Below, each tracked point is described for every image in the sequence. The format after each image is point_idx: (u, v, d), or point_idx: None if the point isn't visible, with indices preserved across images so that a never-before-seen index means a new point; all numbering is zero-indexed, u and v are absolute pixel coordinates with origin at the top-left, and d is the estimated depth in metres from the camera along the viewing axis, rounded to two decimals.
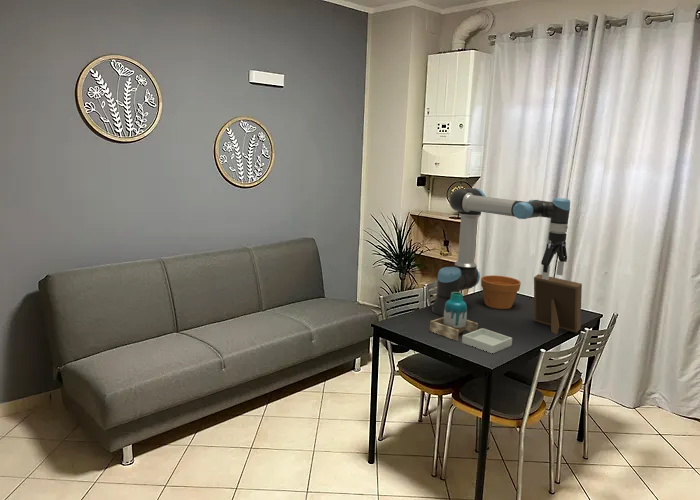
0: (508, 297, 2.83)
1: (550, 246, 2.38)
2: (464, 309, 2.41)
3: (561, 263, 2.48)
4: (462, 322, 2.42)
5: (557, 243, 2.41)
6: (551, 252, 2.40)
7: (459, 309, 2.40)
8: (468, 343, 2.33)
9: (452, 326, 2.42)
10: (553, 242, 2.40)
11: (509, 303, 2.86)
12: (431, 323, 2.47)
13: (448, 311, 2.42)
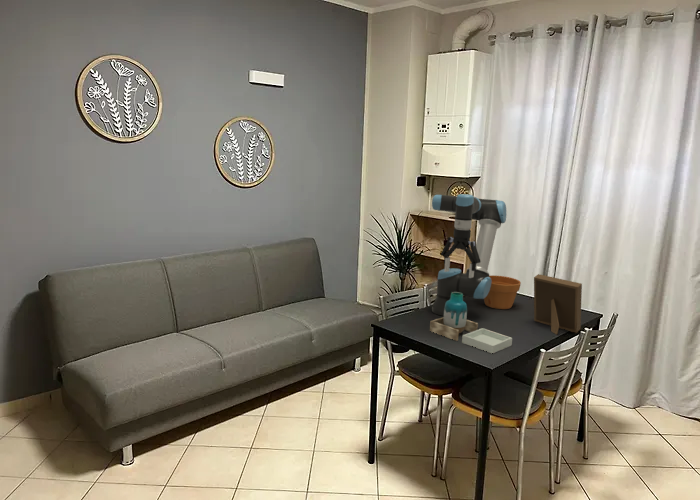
0: (508, 297, 2.83)
1: None
2: (464, 309, 2.41)
3: None
4: (462, 322, 2.42)
5: (457, 239, 2.39)
6: None
7: (459, 309, 2.40)
8: (468, 343, 2.33)
9: (452, 326, 2.42)
10: None
11: (509, 303, 2.86)
12: (431, 323, 2.47)
13: (448, 311, 2.42)
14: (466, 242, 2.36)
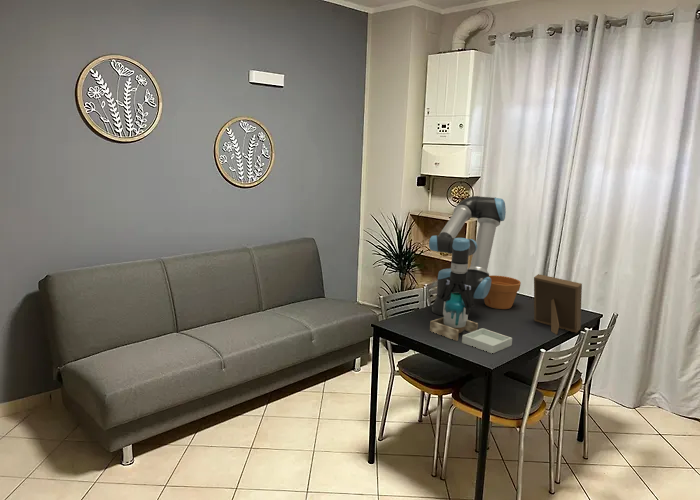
0: (508, 297, 2.83)
1: None
2: None
3: None
4: (462, 322, 2.42)
5: (453, 281, 2.43)
6: None
7: (459, 309, 2.40)
8: (468, 343, 2.33)
9: (452, 326, 2.42)
10: None
11: (509, 303, 2.86)
12: (431, 323, 2.47)
13: (448, 311, 2.42)
14: (462, 285, 2.40)
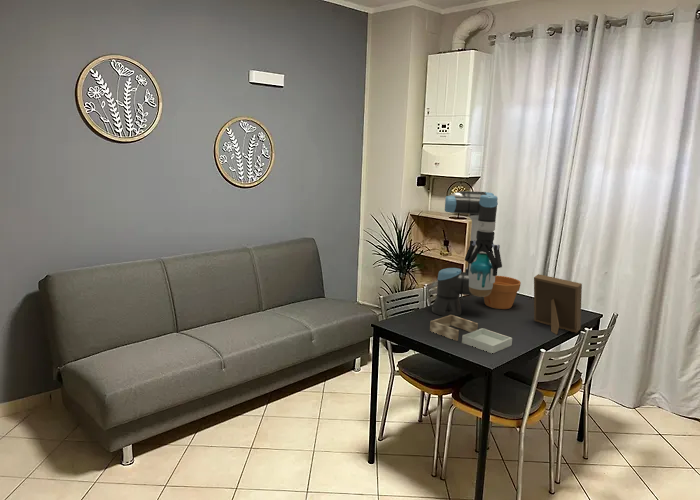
0: (508, 297, 2.83)
1: None
2: None
3: None
4: (489, 284, 2.29)
5: (480, 241, 2.30)
6: None
7: (486, 270, 2.27)
8: (468, 343, 2.33)
9: (478, 288, 2.29)
10: None
11: (509, 303, 2.86)
12: (431, 323, 2.47)
13: (474, 272, 2.29)
14: (489, 245, 2.27)
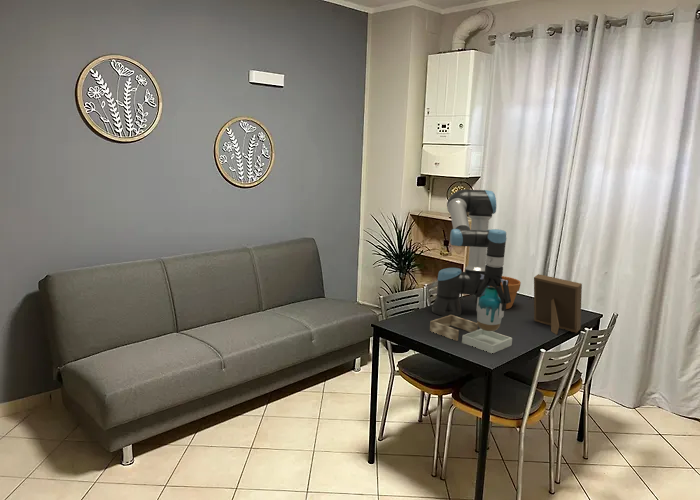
0: None
1: None
2: None
3: None
4: (498, 319, 2.28)
5: (488, 275, 2.29)
6: None
7: (495, 305, 2.26)
8: (468, 343, 2.33)
9: (487, 323, 2.28)
10: None
11: (509, 303, 2.86)
12: (431, 323, 2.47)
13: (482, 307, 2.28)
14: (498, 280, 2.26)
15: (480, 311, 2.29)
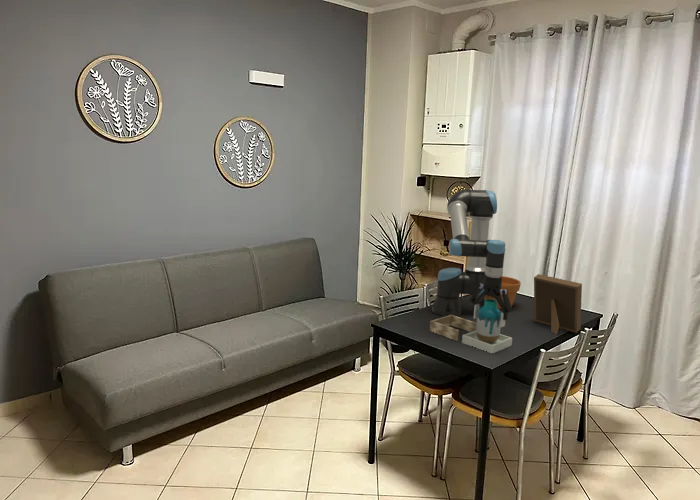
0: None
1: None
2: (499, 317, 2.29)
3: None
4: (496, 330, 2.29)
5: (488, 286, 2.30)
6: None
7: (493, 317, 2.28)
8: (468, 343, 2.33)
9: (486, 335, 2.29)
10: None
11: None
12: (431, 323, 2.47)
13: (481, 318, 2.30)
14: (497, 290, 2.27)
15: (479, 323, 2.31)
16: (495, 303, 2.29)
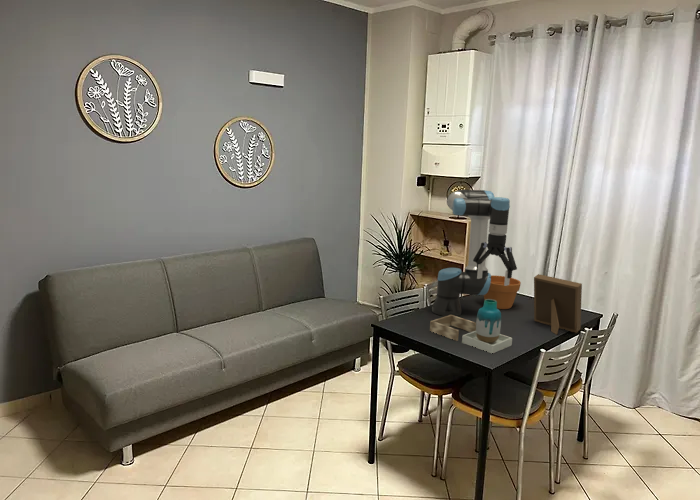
0: (508, 297, 2.83)
1: None
2: (498, 317, 2.28)
3: None
4: (496, 331, 2.29)
5: (492, 244, 2.26)
6: None
7: (493, 317, 2.27)
8: (468, 343, 2.33)
9: (486, 335, 2.29)
10: None
11: (509, 303, 2.86)
12: (431, 323, 2.47)
13: (481, 319, 2.29)
14: (501, 248, 2.23)
15: (479, 323, 2.31)
16: (495, 303, 2.29)
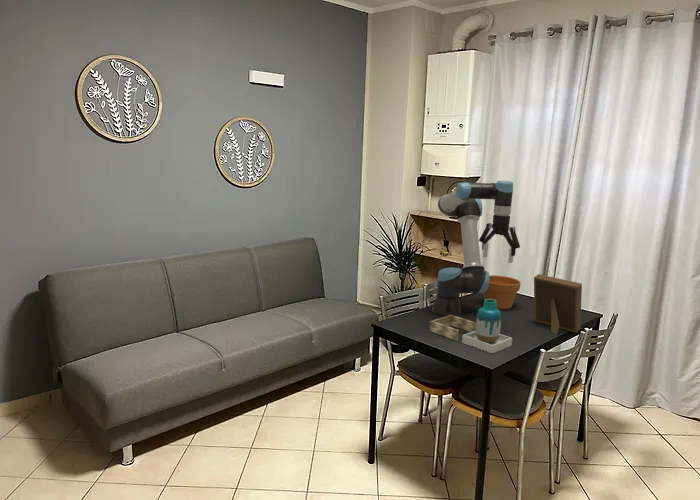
0: (508, 297, 2.83)
1: None
2: (498, 317, 2.28)
3: None
4: (496, 331, 2.29)
5: (496, 225, 2.43)
6: None
7: (493, 317, 2.27)
8: (468, 343, 2.33)
9: (486, 335, 2.29)
10: None
11: (509, 303, 2.86)
12: (431, 323, 2.47)
13: (481, 319, 2.29)
14: (506, 228, 2.39)
15: (479, 323, 2.31)
16: (495, 303, 2.29)
